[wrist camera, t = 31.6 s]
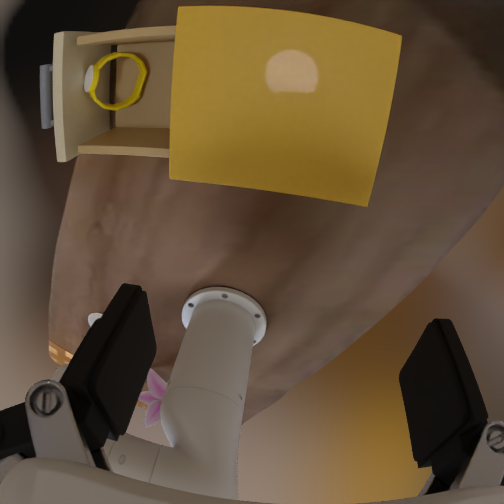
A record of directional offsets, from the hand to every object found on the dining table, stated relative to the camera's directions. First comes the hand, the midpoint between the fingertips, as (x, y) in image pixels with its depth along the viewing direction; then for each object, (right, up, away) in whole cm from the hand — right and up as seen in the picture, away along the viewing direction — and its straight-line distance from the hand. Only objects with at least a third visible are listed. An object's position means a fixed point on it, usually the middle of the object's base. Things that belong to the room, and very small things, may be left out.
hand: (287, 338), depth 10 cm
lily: (-17, -23, +49) cm, 57 cm away
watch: (-12, +20, +18) cm, 29 cm away
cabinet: (+2, +19, +20) cm, 27 cm away
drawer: (-13, +21, +19) cm, 31 cm away
